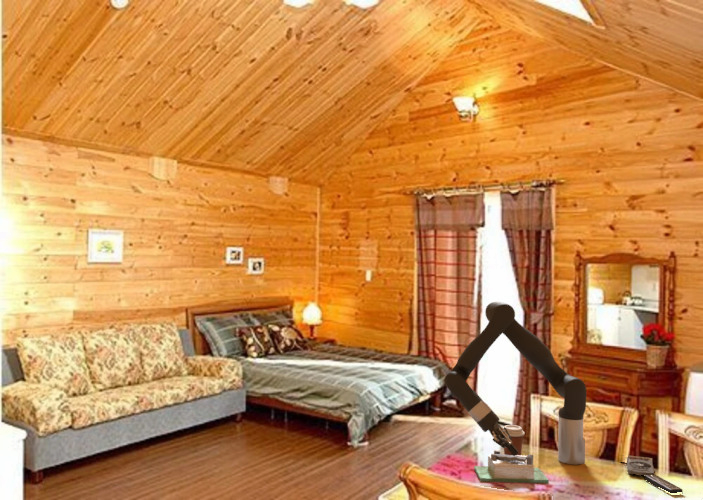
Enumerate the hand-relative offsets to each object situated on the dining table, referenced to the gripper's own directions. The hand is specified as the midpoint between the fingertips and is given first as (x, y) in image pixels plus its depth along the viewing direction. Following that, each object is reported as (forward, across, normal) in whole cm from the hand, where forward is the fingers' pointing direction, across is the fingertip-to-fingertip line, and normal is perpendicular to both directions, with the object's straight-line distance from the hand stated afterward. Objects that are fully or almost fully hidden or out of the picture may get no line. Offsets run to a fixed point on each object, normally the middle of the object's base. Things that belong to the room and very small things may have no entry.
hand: (516, 454), depth 218 cm
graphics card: (+34, +30, -21) cm, 50 cm away
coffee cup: (+2, +22, +10) cm, 24 cm away
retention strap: (0, 0, +3) cm, 3 cm away
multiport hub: (+40, +16, -27) cm, 51 cm away
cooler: (+4, 0, +8) cm, 9 cm away
